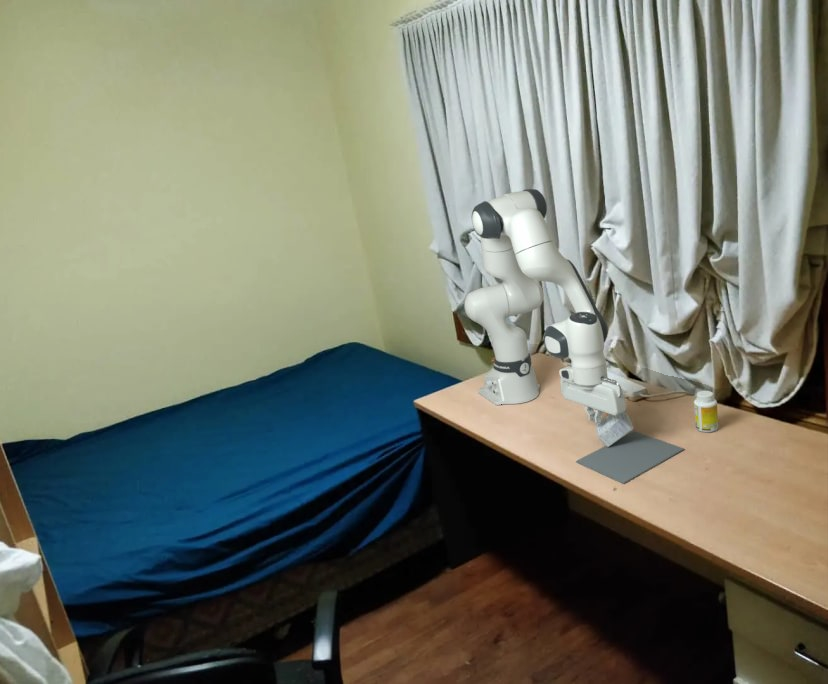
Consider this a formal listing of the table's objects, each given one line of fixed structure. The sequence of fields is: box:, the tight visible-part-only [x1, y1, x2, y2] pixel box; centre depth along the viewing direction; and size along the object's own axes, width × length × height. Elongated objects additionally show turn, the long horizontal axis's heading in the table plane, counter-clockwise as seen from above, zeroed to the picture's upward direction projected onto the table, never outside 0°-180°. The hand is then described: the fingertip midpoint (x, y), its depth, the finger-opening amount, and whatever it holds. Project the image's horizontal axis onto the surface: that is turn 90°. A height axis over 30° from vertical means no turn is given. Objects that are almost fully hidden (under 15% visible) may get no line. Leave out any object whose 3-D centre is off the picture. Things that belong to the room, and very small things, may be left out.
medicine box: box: [595, 410, 634, 447], centre depth 171 cm, size 8×4×9 cm
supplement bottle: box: [693, 390, 719, 433], centre depth 168 cm, size 6×6×10 cm
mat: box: [575, 430, 685, 485], centre depth 163 cm, size 16×22×1 cm
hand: (595, 421), depth 171 cm, fingers closed
